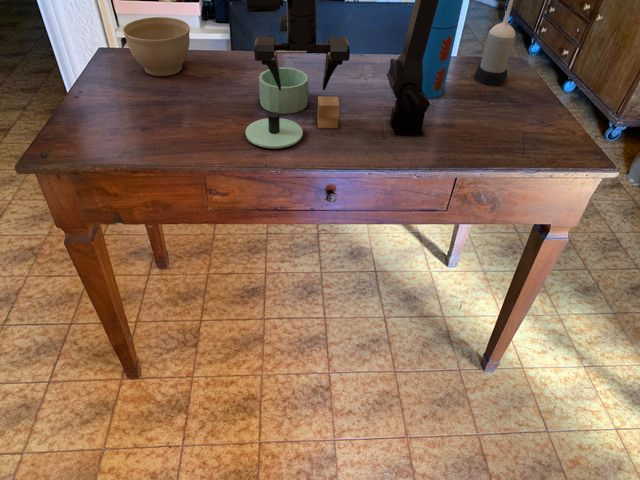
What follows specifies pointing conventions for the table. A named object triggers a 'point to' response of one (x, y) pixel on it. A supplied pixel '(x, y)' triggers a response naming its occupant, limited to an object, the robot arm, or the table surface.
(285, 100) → the tin
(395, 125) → the robot arm
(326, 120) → the block
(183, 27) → the planter bowl
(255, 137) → the lid
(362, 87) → the table surface
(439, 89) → the thermos
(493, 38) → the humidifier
